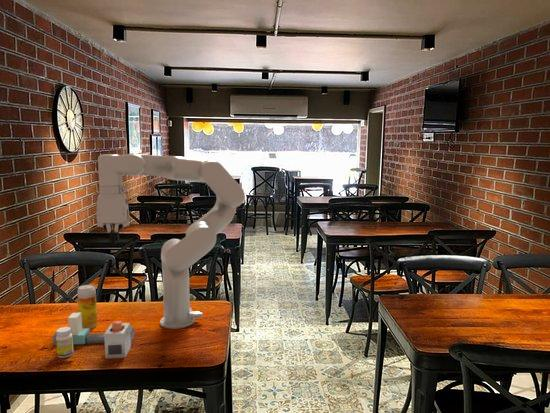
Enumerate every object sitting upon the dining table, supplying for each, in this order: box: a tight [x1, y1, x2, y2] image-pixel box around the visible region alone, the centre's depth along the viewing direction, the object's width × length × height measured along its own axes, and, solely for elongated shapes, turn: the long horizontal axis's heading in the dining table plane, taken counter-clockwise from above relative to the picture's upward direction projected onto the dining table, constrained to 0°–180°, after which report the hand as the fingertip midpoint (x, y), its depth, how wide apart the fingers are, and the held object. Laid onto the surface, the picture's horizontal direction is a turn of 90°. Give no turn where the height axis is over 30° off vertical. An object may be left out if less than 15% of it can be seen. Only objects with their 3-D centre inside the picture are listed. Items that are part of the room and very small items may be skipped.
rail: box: [52, 325, 135, 347], centre depth 147 cm, size 25×5×4 cm, turn 96°
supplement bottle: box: [55, 326, 75, 359], centre depth 138 cm, size 5×5×8 cm
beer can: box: [76, 284, 98, 330], centre depth 159 cm, size 6×6×15 cm
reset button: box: [111, 320, 123, 331], centre depth 139 cm, size 3×3×4 cm
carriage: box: [67, 312, 90, 345], centre depth 146 cm, size 7×6×9 cm
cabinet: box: [104, 322, 132, 359], centre depth 139 cm, size 6×8×8 cm
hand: (114, 242), depth 152 cm, fingers closed
